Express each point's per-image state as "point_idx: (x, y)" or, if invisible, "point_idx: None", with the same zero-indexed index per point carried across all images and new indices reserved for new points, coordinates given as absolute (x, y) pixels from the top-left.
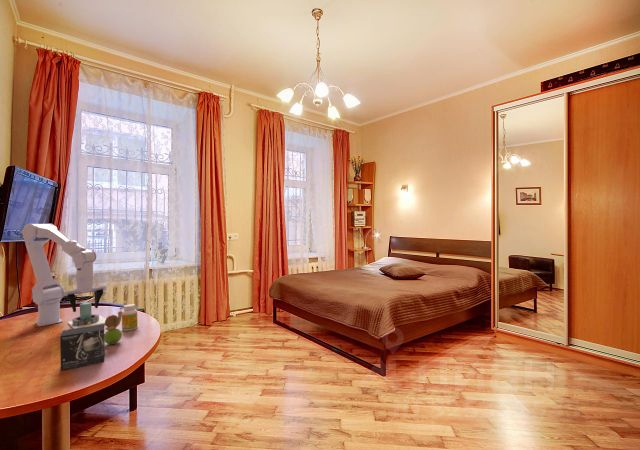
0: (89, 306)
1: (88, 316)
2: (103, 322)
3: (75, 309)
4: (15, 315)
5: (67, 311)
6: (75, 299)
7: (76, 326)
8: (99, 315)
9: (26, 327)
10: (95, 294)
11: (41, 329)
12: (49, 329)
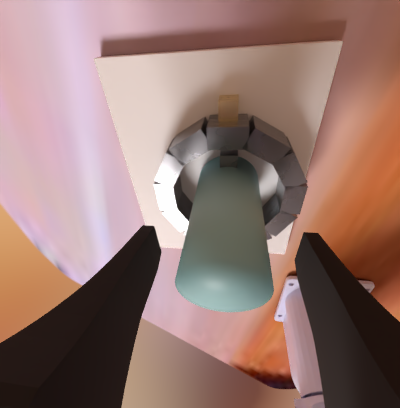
0: (199, 238)
1: (217, 179)
2: (138, 73)
3: (317, 246)
4: None
5: (231, 344)
6: (387, 372)
7: (301, 123)
8: None
9: (394, 301)
10: (106, 377)
11: (395, 244)
12: (381, 219)
